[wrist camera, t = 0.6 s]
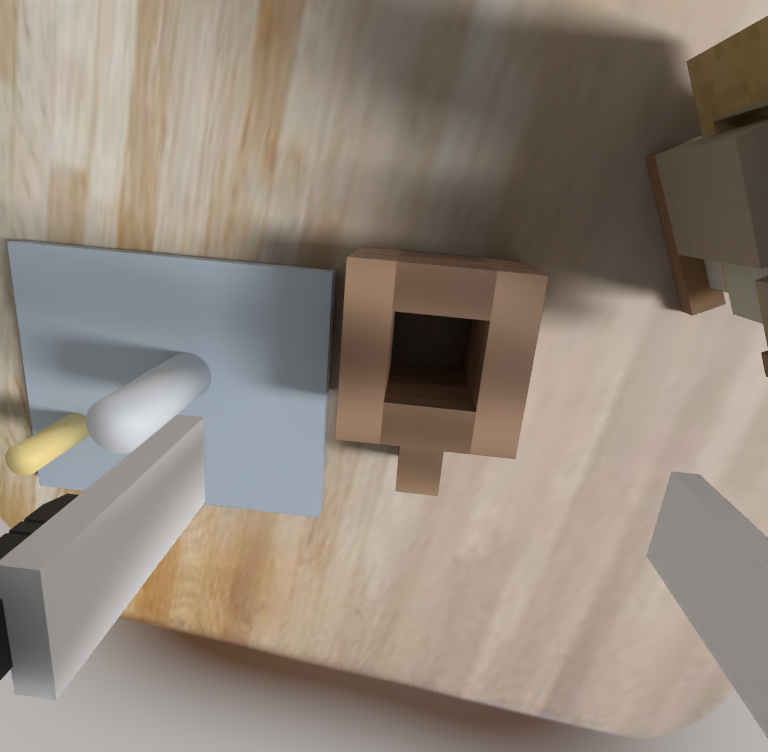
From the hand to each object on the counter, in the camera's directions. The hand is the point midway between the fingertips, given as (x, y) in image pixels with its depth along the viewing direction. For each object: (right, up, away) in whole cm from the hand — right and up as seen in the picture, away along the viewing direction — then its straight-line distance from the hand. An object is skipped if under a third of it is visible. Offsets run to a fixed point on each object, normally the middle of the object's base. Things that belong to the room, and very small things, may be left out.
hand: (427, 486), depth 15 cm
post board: (-14, +3, +19) cm, 24 cm away
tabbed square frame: (+1, +4, +17) cm, 17 cm away
